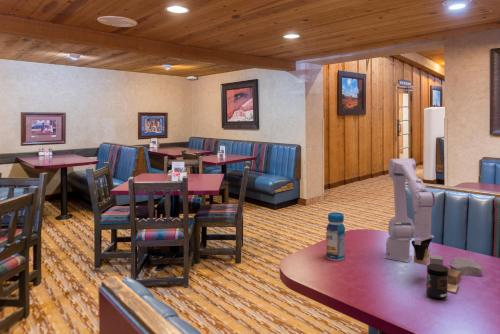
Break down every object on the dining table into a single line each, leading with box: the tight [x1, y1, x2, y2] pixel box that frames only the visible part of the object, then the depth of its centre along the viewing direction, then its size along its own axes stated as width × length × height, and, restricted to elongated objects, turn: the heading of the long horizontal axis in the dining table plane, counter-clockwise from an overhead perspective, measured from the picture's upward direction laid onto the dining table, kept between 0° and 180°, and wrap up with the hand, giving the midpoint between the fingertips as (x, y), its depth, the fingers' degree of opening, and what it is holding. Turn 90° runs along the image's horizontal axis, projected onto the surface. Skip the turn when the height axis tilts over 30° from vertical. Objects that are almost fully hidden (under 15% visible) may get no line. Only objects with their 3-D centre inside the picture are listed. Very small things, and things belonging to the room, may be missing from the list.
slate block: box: [428, 254, 444, 266], centre depth 156 cm, size 4×4×5 cm
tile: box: [447, 284, 460, 295], centre depth 139 cm, size 7×7×1 cm
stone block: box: [449, 257, 483, 277], centre depth 155 cm, size 12×5×10 cm
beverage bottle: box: [325, 212, 346, 262], centre depth 170 cm, size 8×8×20 cm
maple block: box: [413, 248, 430, 266], centre depth 146 cm, size 4×4×5 cm
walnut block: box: [448, 267, 462, 286], centre depth 146 cm, size 7×7×4 cm
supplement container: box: [425, 263, 450, 301], centre depth 132 cm, size 7×7×10 cm
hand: (421, 257), depth 146 cm, fingers closed on maple block, 4 cm apart
